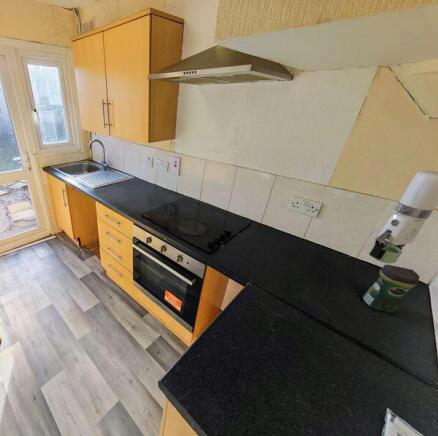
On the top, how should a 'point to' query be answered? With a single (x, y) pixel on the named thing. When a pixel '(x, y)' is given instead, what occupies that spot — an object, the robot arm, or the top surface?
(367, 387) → the top surface
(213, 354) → the top surface
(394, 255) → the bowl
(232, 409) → the top surface
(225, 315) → the top surface
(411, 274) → the coffee jar
